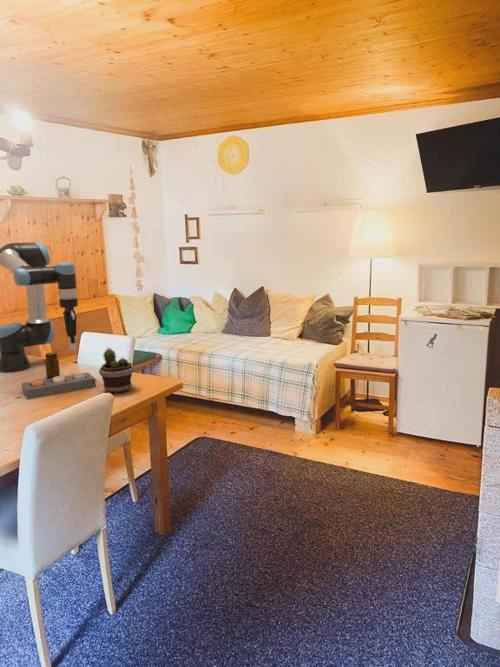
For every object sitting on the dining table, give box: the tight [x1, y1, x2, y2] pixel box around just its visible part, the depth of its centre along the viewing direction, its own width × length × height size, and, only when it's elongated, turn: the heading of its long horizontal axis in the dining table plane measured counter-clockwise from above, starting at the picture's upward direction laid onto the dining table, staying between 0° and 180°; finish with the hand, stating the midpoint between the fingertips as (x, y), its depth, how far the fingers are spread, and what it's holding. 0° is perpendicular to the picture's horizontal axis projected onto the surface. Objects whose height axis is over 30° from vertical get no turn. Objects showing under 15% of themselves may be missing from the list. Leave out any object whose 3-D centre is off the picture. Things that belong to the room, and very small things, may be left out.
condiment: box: [43, 352, 61, 379], centre depth 239 cm, size 7×8×12 cm
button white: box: [53, 375, 65, 383], centre depth 221 cm, size 5×5×4 cm
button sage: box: [73, 373, 85, 380], centre depth 226 cm, size 5×5×4 cm
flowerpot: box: [98, 347, 135, 394], centre depth 218 cm, size 14×15×20 cm
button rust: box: [30, 379, 44, 387], centre depth 216 cm, size 5×5×4 cm
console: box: [21, 372, 97, 400], centre depth 222 cm, size 12×29×4 cm, turn 124°
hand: (72, 349), depth 223 cm, fingers closed
